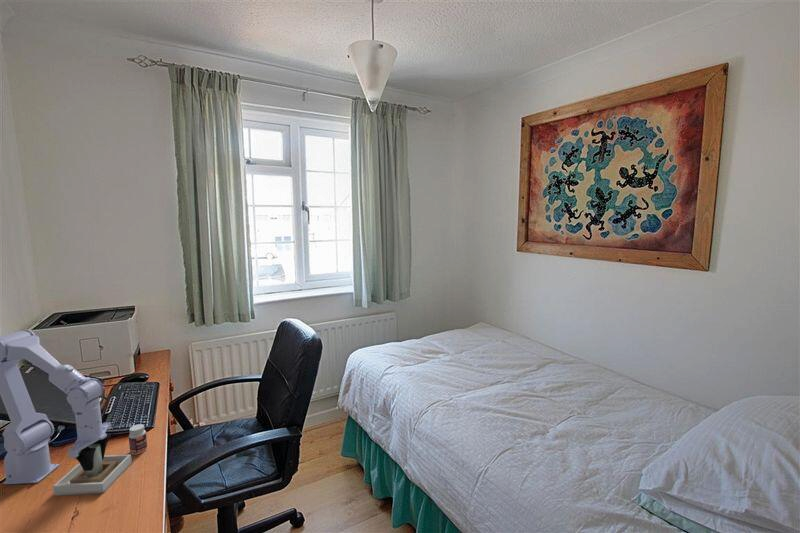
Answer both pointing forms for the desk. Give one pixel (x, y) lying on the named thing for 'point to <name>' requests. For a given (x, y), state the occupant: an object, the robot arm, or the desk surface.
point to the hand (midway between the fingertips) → (93, 464)
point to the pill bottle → (137, 439)
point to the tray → (82, 484)
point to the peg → (96, 461)
